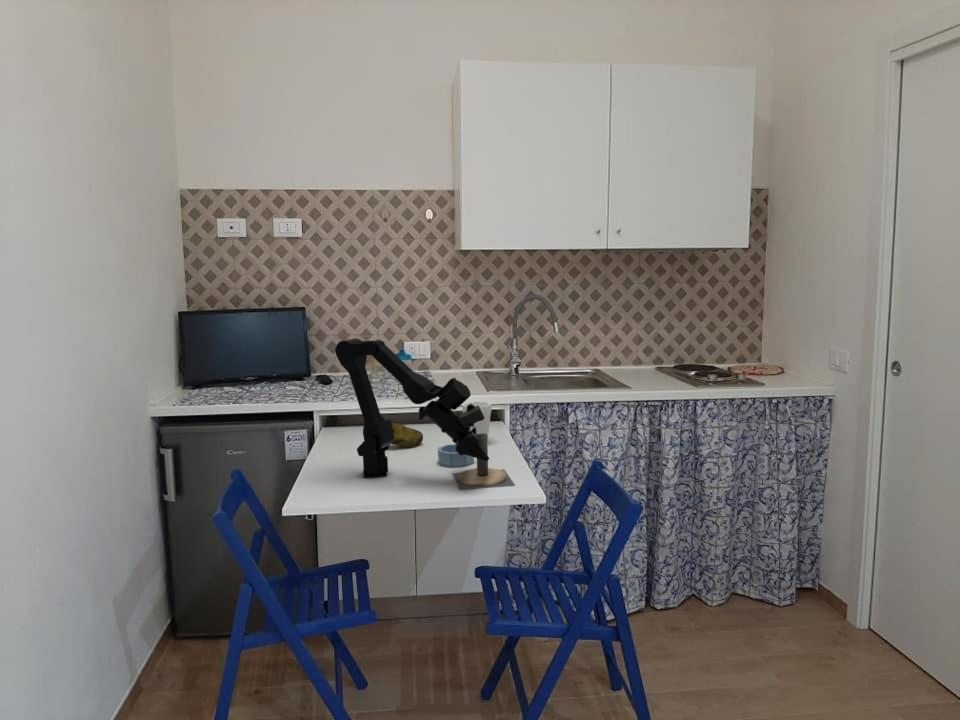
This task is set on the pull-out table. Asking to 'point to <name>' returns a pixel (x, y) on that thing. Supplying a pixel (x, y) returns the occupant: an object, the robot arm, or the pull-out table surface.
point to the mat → (465, 487)
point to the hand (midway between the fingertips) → (487, 456)
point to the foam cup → (484, 424)
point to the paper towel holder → (482, 470)
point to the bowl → (453, 457)
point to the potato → (406, 436)
